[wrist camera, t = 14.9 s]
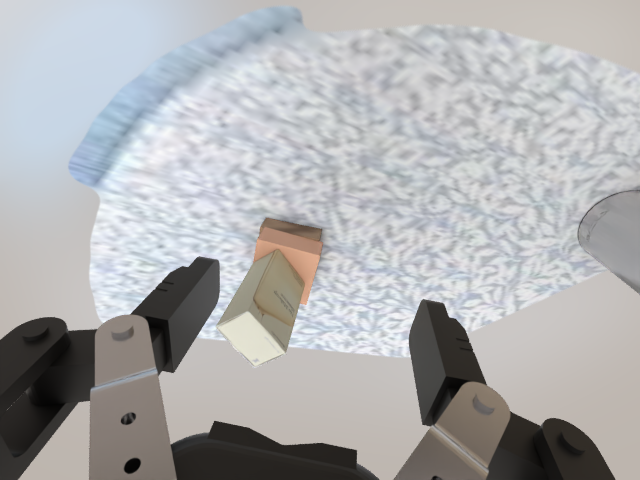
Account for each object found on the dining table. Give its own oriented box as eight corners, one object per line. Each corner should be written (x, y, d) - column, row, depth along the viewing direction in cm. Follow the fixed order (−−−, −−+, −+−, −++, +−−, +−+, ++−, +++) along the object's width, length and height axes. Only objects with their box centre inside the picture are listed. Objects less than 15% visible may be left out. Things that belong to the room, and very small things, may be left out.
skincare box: (306, 283, 42) (289, 355, 31) (279, 296, 44) (254, 370, 33) (277, 246, 40) (249, 310, 29) (250, 262, 41) (213, 328, 31)
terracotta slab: (323, 242, 43) (320, 255, 40) (309, 289, 47) (306, 304, 44) (264, 226, 43) (257, 238, 40) (256, 275, 47) (248, 289, 44)
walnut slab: (322, 228, 46) (319, 239, 43) (313, 274, 50) (309, 287, 47) (266, 216, 46) (260, 227, 43) (262, 263, 50) (255, 276, 47)
